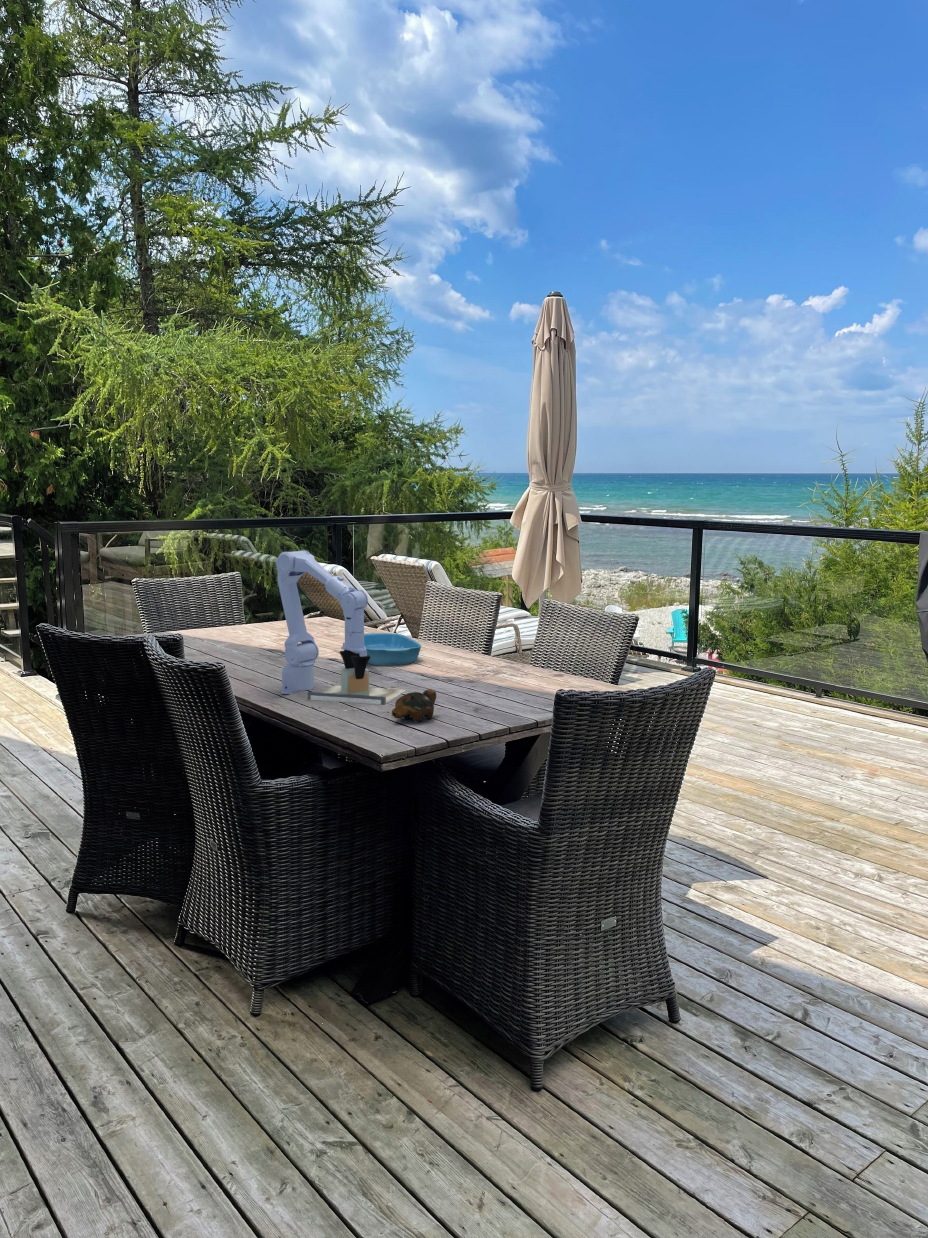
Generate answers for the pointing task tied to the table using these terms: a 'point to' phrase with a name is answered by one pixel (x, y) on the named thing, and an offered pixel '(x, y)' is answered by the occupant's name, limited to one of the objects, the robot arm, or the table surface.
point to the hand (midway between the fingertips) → (354, 676)
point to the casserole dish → (390, 649)
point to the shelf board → (371, 692)
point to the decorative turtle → (415, 705)
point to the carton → (354, 683)
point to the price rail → (347, 698)
